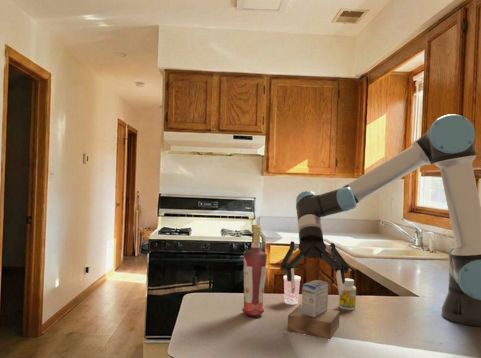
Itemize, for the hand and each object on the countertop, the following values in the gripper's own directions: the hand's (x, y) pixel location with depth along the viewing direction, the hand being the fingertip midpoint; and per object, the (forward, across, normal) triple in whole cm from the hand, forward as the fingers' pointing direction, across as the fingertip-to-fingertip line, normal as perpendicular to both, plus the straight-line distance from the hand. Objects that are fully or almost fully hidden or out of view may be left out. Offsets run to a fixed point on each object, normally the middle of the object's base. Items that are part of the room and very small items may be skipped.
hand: (317, 291), depth 115 cm
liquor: (-1, +18, -17) cm, 24 cm away
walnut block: (+7, 0, -10) cm, 12 cm away
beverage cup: (-11, +4, -27) cm, 30 cm away
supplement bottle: (-9, -15, -25) cm, 30 cm away
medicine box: (+3, 0, -6) cm, 7 cm away
